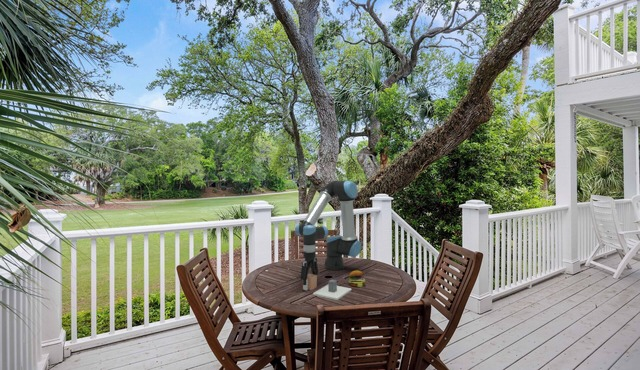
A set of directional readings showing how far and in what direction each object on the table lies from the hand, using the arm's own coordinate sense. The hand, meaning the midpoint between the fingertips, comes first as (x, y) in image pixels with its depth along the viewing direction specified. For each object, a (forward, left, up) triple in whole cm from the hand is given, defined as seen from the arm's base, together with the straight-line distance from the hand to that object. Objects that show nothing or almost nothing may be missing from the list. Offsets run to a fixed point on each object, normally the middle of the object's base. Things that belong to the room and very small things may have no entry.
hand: (309, 287), depth 209 cm
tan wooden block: (0, 0, 0) cm, 0 cm away
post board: (0, +16, 0) cm, 16 cm away
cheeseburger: (-20, +22, -1) cm, 30 cm away
